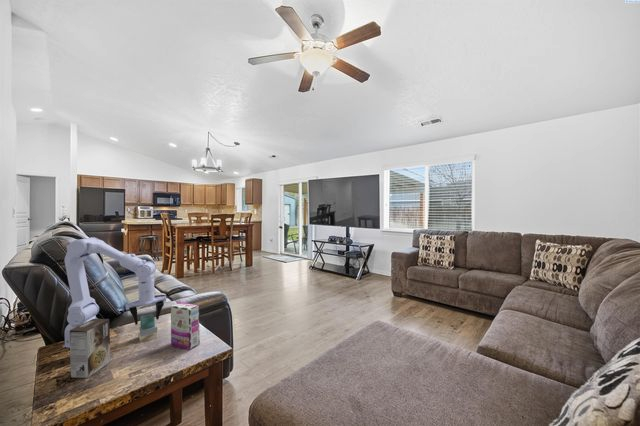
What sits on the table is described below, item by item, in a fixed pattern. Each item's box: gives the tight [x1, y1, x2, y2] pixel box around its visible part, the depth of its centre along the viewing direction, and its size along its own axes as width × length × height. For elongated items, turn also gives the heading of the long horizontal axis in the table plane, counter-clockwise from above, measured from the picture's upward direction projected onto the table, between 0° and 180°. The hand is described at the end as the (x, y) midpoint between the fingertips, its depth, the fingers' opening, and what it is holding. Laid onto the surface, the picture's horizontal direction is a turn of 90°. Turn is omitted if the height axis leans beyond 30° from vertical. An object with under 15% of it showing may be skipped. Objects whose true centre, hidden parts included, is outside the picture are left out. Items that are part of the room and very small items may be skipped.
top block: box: [139, 324, 158, 337], centre depth 112 cm, size 6×6×2 cm
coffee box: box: [69, 318, 112, 379], centre depth 90 cm, size 9×6×16 cm
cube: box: [139, 313, 156, 330], centre depth 112 cm, size 4×4×4 cm
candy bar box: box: [170, 301, 200, 350], centre depth 106 cm, size 11×5×16 cm, turn 68°
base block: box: [137, 331, 158, 343], centre depth 112 cm, size 6×6×2 cm
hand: (147, 321), depth 112 cm, fingers open, 7 cm apart
